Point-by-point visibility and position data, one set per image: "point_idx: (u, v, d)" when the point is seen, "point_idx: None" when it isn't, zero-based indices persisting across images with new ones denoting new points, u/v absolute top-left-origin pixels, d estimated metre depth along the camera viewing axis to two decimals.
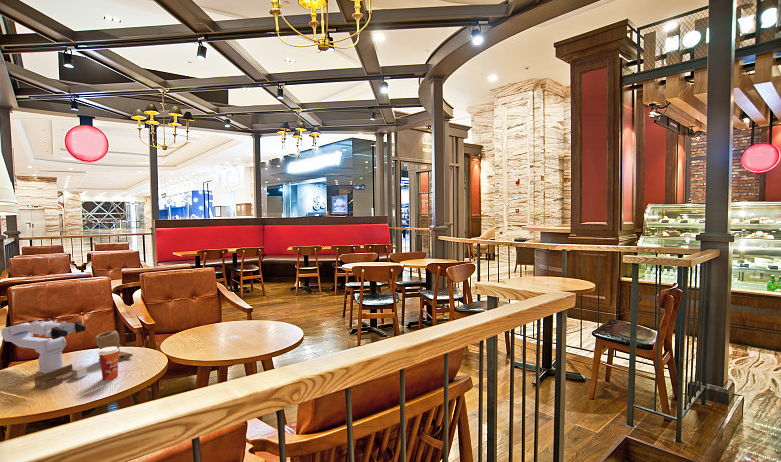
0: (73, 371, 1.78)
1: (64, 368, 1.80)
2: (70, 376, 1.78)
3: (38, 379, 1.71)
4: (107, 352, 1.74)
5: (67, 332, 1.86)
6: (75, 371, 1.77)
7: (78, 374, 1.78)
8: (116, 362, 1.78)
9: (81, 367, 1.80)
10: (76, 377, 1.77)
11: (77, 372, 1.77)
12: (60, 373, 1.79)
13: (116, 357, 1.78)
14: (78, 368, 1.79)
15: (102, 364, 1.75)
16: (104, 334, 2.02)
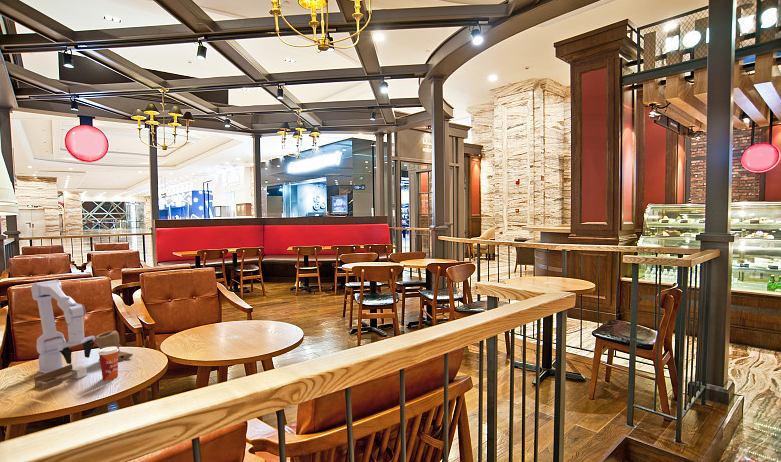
0: (73, 371, 1.78)
1: (64, 368, 1.80)
2: (70, 376, 1.78)
3: (38, 379, 1.71)
4: (107, 352, 1.74)
5: None
6: (75, 371, 1.77)
7: (78, 374, 1.78)
8: (116, 362, 1.78)
9: (81, 367, 1.80)
10: (76, 377, 1.77)
11: (77, 372, 1.77)
12: (60, 373, 1.79)
13: (116, 357, 1.78)
14: (78, 368, 1.79)
15: (102, 364, 1.75)
16: (104, 334, 2.02)
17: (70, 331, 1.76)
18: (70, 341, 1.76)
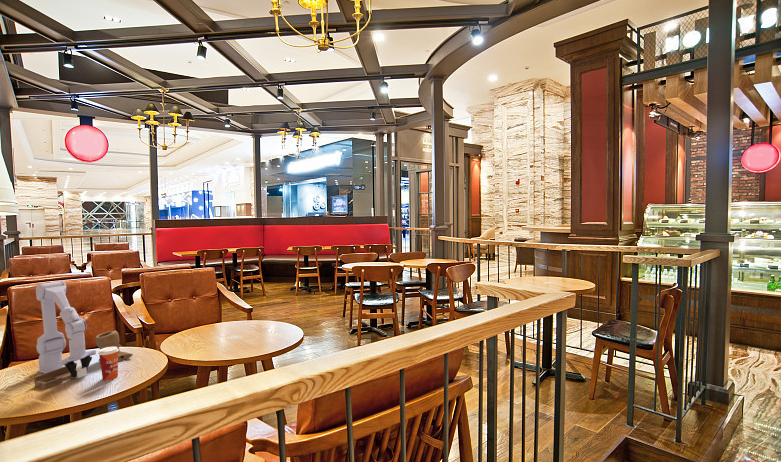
0: None
1: (64, 368, 1.80)
2: (70, 376, 1.78)
3: (38, 379, 1.71)
4: (107, 352, 1.74)
5: None
6: None
7: (78, 374, 1.78)
8: (116, 362, 1.78)
9: (81, 367, 1.80)
10: (76, 377, 1.77)
11: (77, 372, 1.77)
12: (60, 373, 1.79)
13: (116, 357, 1.78)
14: (78, 368, 1.79)
15: (102, 364, 1.75)
16: (104, 334, 2.02)
17: (71, 346, 1.76)
18: (71, 356, 1.76)
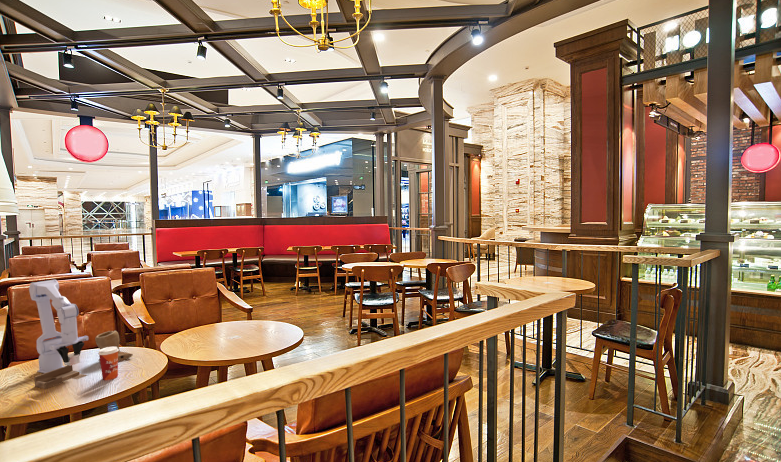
0: None
1: (64, 368, 1.80)
2: (70, 376, 1.78)
3: (38, 379, 1.71)
4: (107, 352, 1.74)
5: None
6: (68, 357, 1.77)
7: (71, 361, 1.77)
8: (116, 362, 1.78)
9: (74, 354, 1.80)
10: (69, 364, 1.77)
11: (70, 359, 1.77)
12: (60, 373, 1.79)
13: (116, 357, 1.78)
14: (71, 355, 1.79)
15: (102, 364, 1.75)
16: (104, 334, 2.02)
17: (63, 331, 1.76)
18: (63, 341, 1.76)
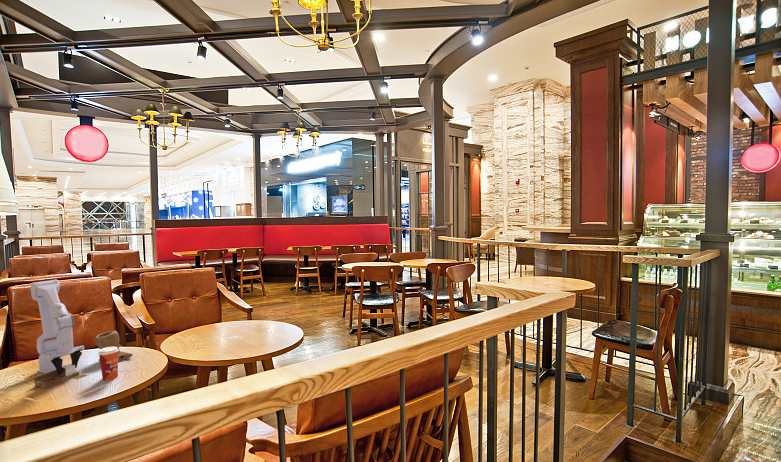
0: None
1: None
2: (70, 376, 1.78)
3: (38, 379, 1.71)
4: (107, 352, 1.74)
5: None
6: (63, 368, 1.77)
7: (66, 372, 1.77)
8: (116, 362, 1.78)
9: (70, 365, 1.80)
10: (64, 375, 1.77)
11: (66, 370, 1.77)
12: None
13: (116, 357, 1.78)
14: (67, 366, 1.79)
15: (102, 364, 1.75)
16: (104, 334, 2.02)
17: (58, 341, 1.76)
18: (59, 351, 1.76)
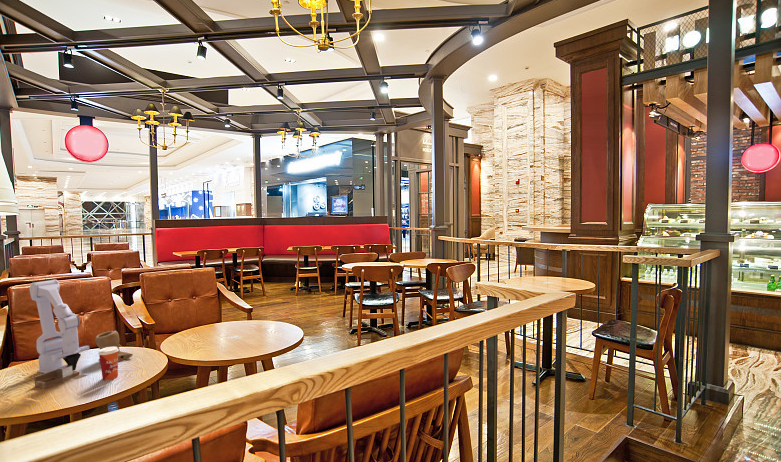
0: (58, 370, 1.76)
1: None
2: (70, 376, 1.78)
3: (38, 379, 1.71)
4: (107, 352, 1.74)
5: None
6: (60, 369, 1.76)
7: (63, 373, 1.76)
8: (116, 362, 1.78)
9: (67, 366, 1.79)
10: (61, 376, 1.76)
11: (63, 371, 1.76)
12: None
13: (116, 357, 1.78)
14: (64, 367, 1.78)
15: (102, 364, 1.75)
16: (104, 334, 2.02)
17: (64, 341, 1.78)
18: (64, 351, 1.78)
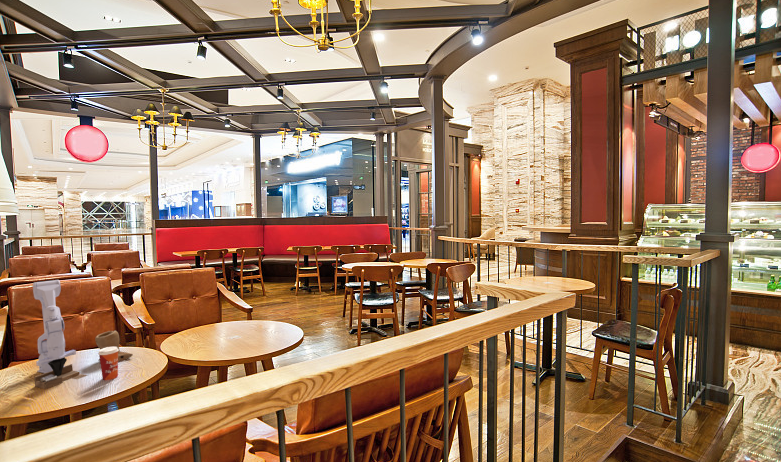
0: None
1: (64, 368, 1.80)
2: (70, 376, 1.78)
3: (38, 379, 1.71)
4: (107, 352, 1.74)
5: None
6: None
7: None
8: (116, 362, 1.78)
9: (43, 381, 1.70)
10: None
11: None
12: None
13: (116, 357, 1.78)
14: None
15: (102, 364, 1.75)
16: (104, 334, 2.02)
17: (48, 346, 1.73)
18: (49, 356, 1.73)
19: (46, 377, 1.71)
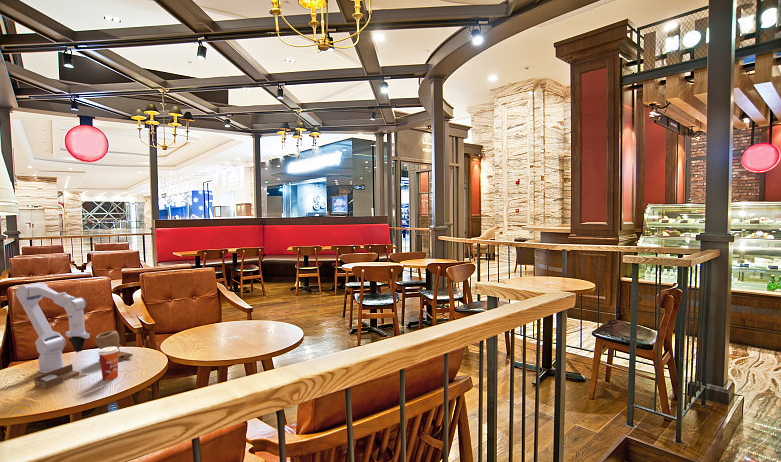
0: None
1: (64, 368, 1.80)
2: (70, 376, 1.78)
3: (38, 379, 1.71)
4: (107, 352, 1.74)
5: None
6: None
7: None
8: (116, 362, 1.78)
9: (43, 381, 1.70)
10: None
11: None
12: (60, 373, 1.79)
13: (116, 357, 1.78)
14: None
15: (102, 364, 1.75)
16: (104, 334, 2.02)
17: (73, 323, 1.83)
18: None
19: (46, 377, 1.71)
